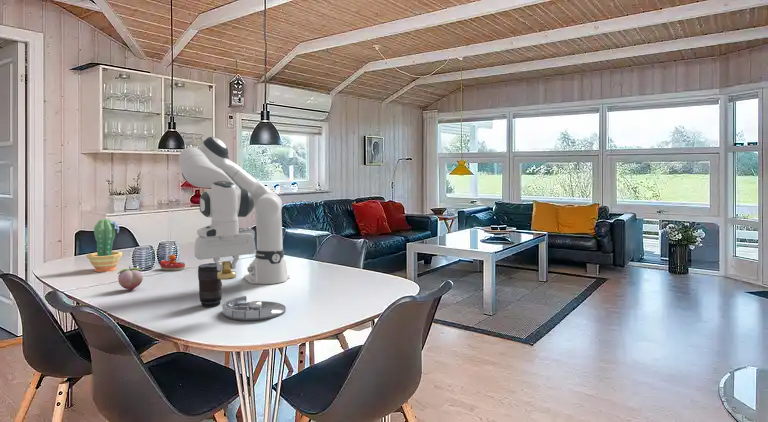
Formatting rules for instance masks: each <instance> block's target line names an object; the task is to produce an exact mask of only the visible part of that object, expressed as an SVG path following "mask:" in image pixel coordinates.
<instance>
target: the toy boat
mask: <svg viewBox="0 0 768 422" xmlns="http://www.w3.org/2000/svg"><path fill="white" fill-rule="evenodd" d="M176 258H177V257H176V255H175V254H170V255H169V256H168V259H169V260H170V261H169V260H165V259H162V260H161V261H160V263H159V265H160V269H161V270H163V271H168V272H169V271H170V272H171V271H172V272H177V271H181V270H184V269H185V268H186V264H185V262H179V261H178V262H177V261H176Z"/></svg>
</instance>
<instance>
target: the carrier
mask: <svg viewBox="0 0 768 422" xmlns="http://www.w3.org/2000/svg"><path fill="white" fill-rule="evenodd" d="M221 307H222V313H223V315H224V317H225V319H228V320H232V321H238V322H259V321H260V322H261V321H266V320H270V319H275V318H278V317H281V316H282V315H284V314H285V313H286V311H287V308H286V305H284V304H283V303H280V302H277V301H276V302H275V301H263V300H253V301H247V295H242V296H237V297H233V298H230V299H228V300H226V301H224V302H223V304H222V306H221Z"/></svg>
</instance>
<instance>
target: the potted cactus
mask: <svg viewBox="0 0 768 422" xmlns="http://www.w3.org/2000/svg"><path fill="white" fill-rule="evenodd" d="M119 232H120V227H119V226H118V223H116V221H113V220H111V219H108V218H105V219H103V218H101V219H99V220H98V221H97V222H96V224H94V227H93V234H94V238H95V239H94V240H95V241H96V252H93V253H88V254H87V255H86V258H87V259H88V260H89V262H90V264H91V265H92V267H94V272H98V273H106V272H112V271H116V268H117V265H118V264H119V262H120V259H121V257H122V256H123V252H122V251H115V250H114V251H113V245H114V244H113V243H114V241H115V238H116V234H119Z"/></svg>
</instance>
